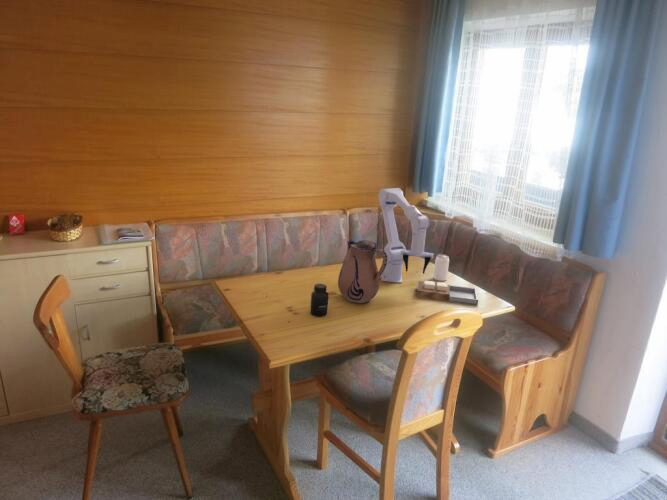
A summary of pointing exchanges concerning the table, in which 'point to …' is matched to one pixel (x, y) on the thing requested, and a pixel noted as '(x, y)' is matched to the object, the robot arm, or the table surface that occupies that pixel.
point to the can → (441, 267)
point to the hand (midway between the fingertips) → (415, 271)
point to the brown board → (433, 292)
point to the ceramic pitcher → (361, 272)
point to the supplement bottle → (319, 301)
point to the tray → (463, 295)
